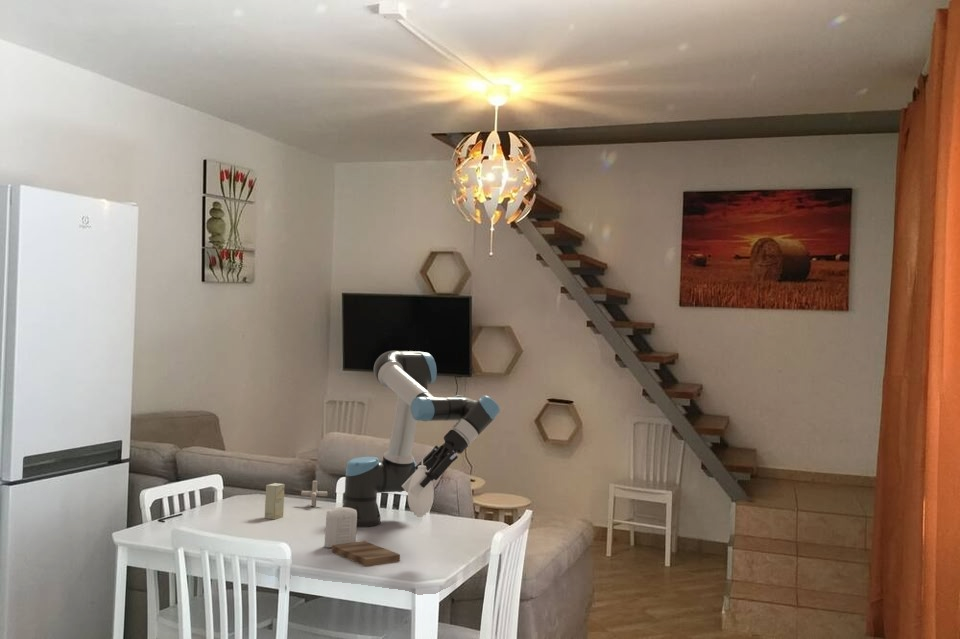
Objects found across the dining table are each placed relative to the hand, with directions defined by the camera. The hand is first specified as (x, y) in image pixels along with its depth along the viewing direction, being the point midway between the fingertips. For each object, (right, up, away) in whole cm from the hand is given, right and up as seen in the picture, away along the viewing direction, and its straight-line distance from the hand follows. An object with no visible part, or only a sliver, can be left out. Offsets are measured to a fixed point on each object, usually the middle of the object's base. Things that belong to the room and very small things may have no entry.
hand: (408, 491), depth 257 cm
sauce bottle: (+3, -8, +2) cm, 9 cm away
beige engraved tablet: (-23, -21, +16) cm, 35 cm away
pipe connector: (-44, -22, +78) cm, 92 cm away
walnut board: (-14, -21, +4) cm, 25 cm away
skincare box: (-54, -21, +54) cm, 79 cm away
